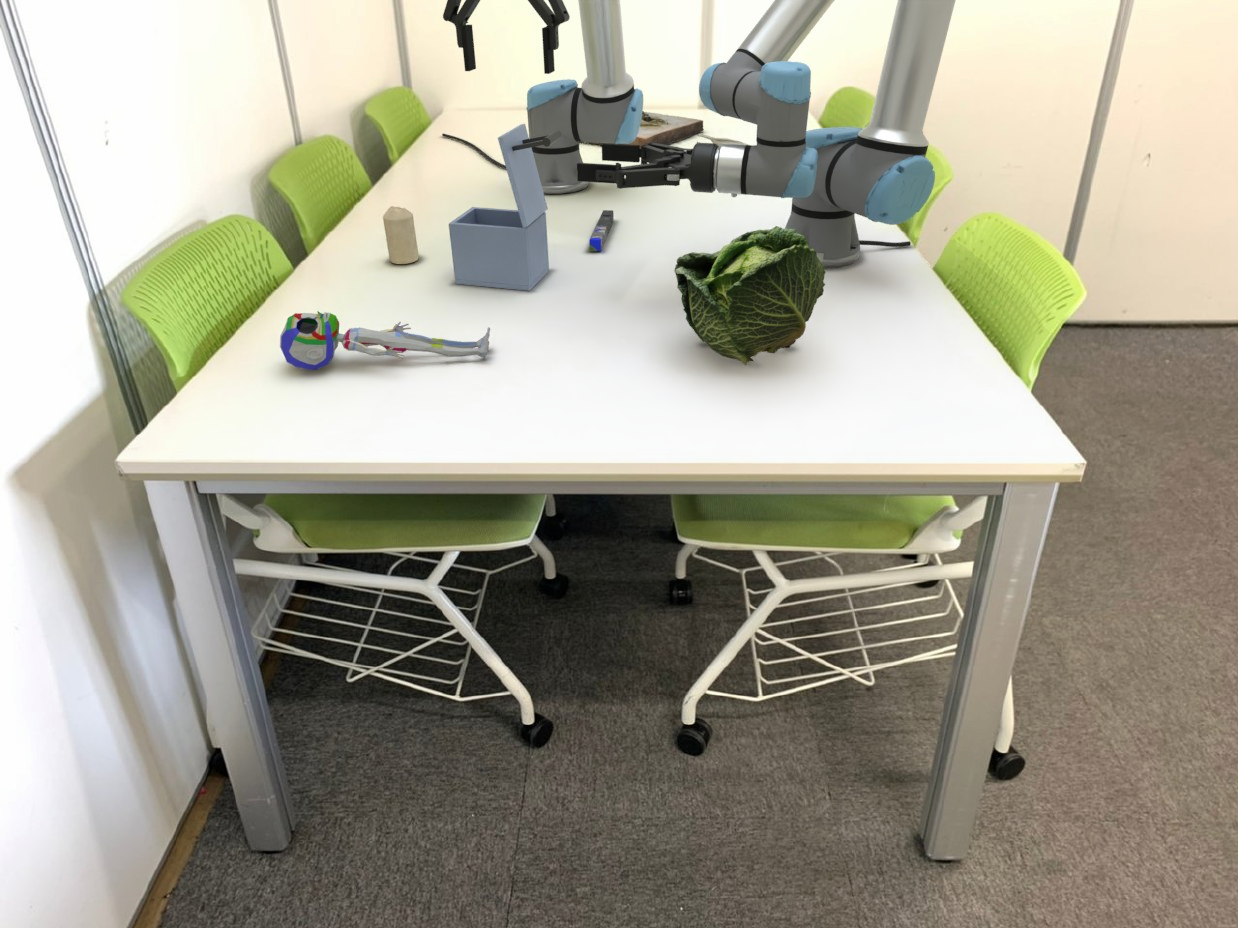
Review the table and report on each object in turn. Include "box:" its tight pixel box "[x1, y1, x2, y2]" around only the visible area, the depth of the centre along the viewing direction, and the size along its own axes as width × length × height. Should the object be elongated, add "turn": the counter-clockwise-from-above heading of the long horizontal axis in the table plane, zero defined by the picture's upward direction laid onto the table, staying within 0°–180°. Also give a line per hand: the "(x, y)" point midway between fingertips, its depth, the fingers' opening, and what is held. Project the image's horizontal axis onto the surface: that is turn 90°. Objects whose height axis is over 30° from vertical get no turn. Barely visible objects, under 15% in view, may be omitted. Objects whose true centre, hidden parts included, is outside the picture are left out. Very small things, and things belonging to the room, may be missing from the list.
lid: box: [497, 123, 562, 227], centre depth 151 cm, size 15×10×8 cm
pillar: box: [588, 209, 615, 252], centre depth 182 cm, size 2×2×20 cm
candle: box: [382, 205, 420, 265], centre depth 169 cm, size 6×6×10 cm
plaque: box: [584, 110, 705, 147], centre depth 257 cm, size 30×7×30 cm
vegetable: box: [673, 225, 826, 366], centre depth 131 cm, size 20×19×20 cm
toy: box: [279, 311, 491, 371], centre depth 133 cm, size 10×8×30 cm
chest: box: [448, 206, 550, 292], centre depth 161 cm, size 14×10×11 cm
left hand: (509, 71), depth 144 cm, fingers open, 13 cm apart
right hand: (590, 161), depth 148 cm, fingers open, 13 cm apart
